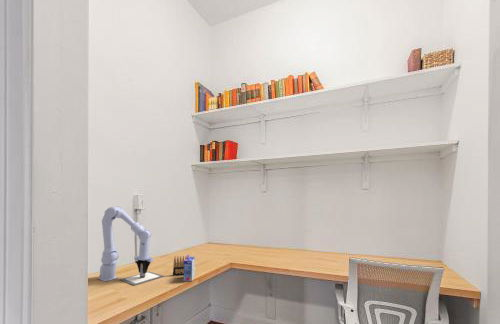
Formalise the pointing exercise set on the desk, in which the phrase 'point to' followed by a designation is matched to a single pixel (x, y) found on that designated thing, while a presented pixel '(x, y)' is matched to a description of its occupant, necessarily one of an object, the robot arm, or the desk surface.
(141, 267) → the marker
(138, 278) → the writing mat
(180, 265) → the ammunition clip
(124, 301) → the desk surface
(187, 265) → the blue drink carton
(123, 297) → the desk surface
